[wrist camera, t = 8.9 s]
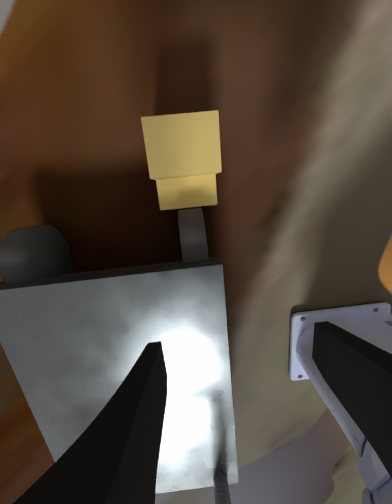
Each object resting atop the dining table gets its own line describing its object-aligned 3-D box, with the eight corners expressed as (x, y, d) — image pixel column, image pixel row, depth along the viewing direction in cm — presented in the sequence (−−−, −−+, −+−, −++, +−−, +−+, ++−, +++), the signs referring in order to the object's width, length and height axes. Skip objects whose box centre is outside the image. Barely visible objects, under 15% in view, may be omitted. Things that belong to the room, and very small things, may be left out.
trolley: (207, 203, 17) (354, 314, 2) (225, 415, 24) (291, 784, 9) (32, 223, 17) (-1070, 486, 2) (101, 430, 24) (-36, 835, 9)
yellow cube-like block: (208, 133, 16) (218, 110, 11) (212, 202, 17) (223, 207, 13) (154, 138, 16) (140, 117, 11) (163, 207, 17) (155, 214, 12)
